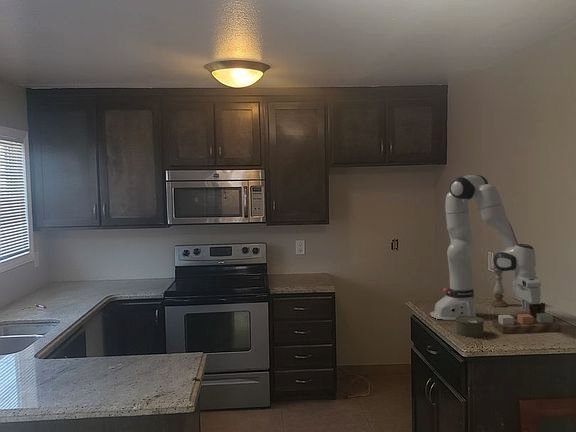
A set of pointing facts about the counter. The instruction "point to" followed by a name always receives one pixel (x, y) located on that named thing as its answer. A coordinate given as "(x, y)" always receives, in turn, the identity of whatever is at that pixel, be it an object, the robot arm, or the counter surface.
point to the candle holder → (498, 290)
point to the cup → (536, 309)
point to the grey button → (505, 319)
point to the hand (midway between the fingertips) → (525, 309)
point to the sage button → (544, 318)
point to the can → (469, 326)
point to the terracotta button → (525, 318)
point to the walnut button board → (526, 327)
